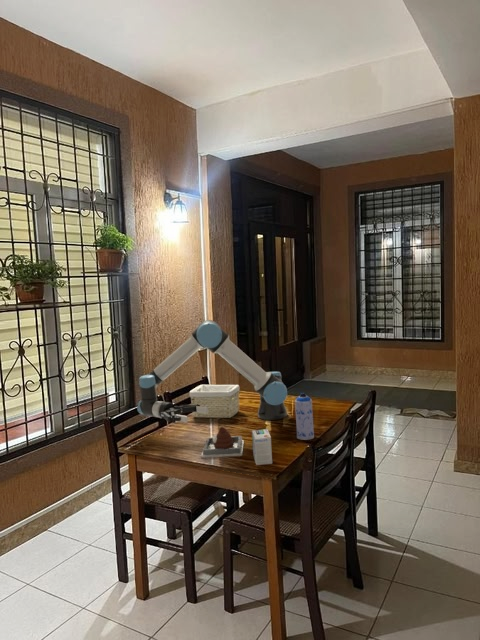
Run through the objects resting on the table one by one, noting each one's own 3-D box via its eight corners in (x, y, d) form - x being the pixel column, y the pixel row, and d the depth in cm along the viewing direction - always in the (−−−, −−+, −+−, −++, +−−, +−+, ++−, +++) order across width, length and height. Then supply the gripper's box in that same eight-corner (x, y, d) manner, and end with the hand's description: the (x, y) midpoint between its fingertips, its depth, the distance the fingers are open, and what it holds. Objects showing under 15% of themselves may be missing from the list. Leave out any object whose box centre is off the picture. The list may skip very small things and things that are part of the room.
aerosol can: (316, 434, 219) (314, 391, 217) (310, 440, 212) (307, 396, 210) (300, 433, 223) (298, 390, 221) (293, 438, 216) (291, 394, 214)
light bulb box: (253, 455, 200) (251, 430, 199) (269, 453, 201) (267, 428, 199) (256, 465, 189) (254, 438, 188) (273, 463, 190) (271, 437, 189)
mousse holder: (243, 442, 216) (243, 435, 216) (242, 455, 200) (241, 448, 200) (205, 444, 217) (205, 437, 217) (201, 457, 201) (200, 450, 201)
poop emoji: (231, 451, 203) (229, 430, 202) (211, 451, 205) (209, 430, 204) (235, 443, 213) (234, 422, 212) (216, 443, 214) (215, 422, 213)
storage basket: (190, 418, 259) (187, 391, 258) (202, 409, 274) (200, 383, 273) (232, 419, 251) (230, 391, 250) (242, 410, 266) (240, 384, 265)
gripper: (183, 410, 238) (216, 415, 225) (144, 425, 219) (178, 431, 206) (181, 395, 238) (214, 399, 225) (143, 409, 218) (176, 414, 205)
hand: (197, 414), depth 215 cm, fingers open, 13 cm apart
